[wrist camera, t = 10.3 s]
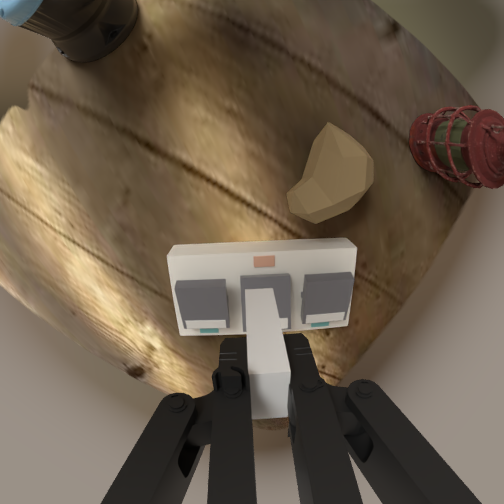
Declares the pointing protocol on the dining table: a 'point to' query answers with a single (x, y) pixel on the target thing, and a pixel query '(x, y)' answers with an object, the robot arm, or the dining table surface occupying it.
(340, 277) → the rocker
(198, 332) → the console
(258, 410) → the robot arm
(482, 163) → the lantern
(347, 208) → the low-poly potato
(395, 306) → the dining table surface
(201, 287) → the rocker
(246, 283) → the rocker middle
